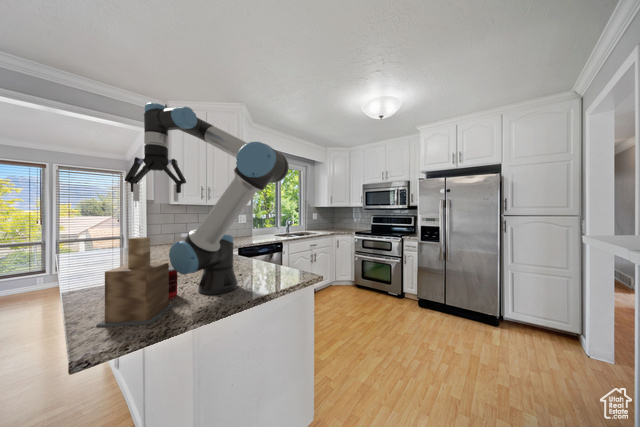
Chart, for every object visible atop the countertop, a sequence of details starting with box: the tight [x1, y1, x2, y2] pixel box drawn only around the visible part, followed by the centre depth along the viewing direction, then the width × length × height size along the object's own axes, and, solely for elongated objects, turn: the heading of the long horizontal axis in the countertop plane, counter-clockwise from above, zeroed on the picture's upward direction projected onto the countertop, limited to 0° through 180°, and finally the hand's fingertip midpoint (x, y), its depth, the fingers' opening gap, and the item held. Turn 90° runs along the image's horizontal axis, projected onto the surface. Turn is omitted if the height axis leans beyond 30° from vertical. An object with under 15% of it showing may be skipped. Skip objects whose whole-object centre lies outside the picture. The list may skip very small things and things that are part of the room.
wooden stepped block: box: [104, 236, 170, 323], centre depth 75 cm, size 12×12×24 cm
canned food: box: [169, 265, 178, 300], centre depth 90 cm, size 8×8×11 cm
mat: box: [95, 303, 175, 328], centre depth 75 cm, size 14×14×1 cm
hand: (156, 201), depth 92 cm, fingers open, 13 cm apart
